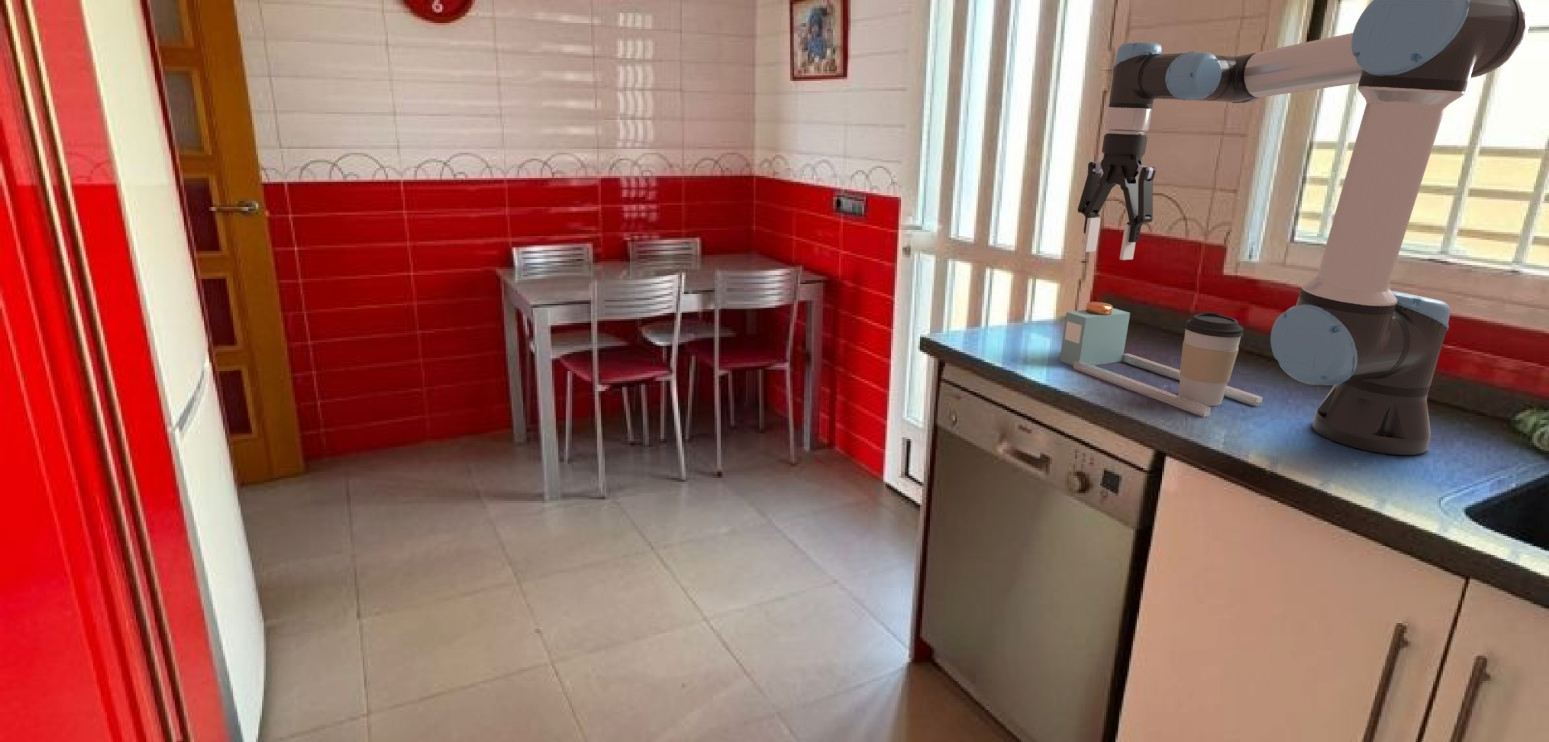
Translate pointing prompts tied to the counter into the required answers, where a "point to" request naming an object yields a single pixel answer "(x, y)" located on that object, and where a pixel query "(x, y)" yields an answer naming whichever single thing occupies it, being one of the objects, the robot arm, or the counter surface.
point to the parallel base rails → (1158, 393)
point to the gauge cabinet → (1094, 337)
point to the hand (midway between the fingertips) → (1107, 255)
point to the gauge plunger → (1099, 308)
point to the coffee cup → (1208, 357)
